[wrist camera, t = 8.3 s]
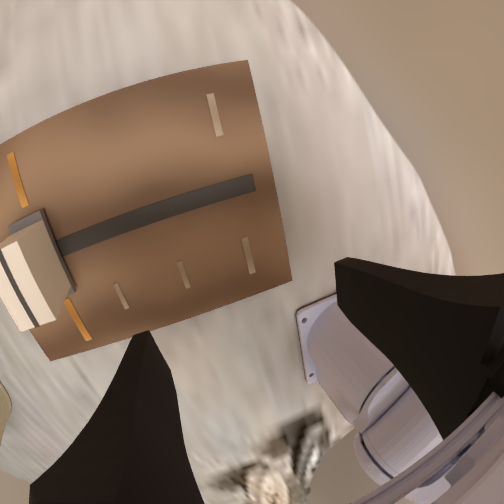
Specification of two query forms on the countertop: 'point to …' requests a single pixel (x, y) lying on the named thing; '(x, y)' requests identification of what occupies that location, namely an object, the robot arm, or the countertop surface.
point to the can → (4, 409)
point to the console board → (150, 204)
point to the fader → (33, 273)
